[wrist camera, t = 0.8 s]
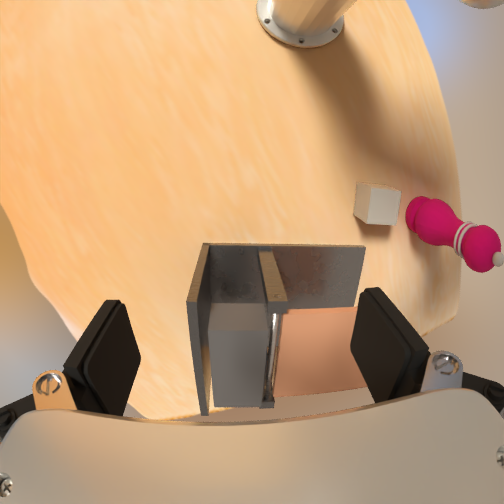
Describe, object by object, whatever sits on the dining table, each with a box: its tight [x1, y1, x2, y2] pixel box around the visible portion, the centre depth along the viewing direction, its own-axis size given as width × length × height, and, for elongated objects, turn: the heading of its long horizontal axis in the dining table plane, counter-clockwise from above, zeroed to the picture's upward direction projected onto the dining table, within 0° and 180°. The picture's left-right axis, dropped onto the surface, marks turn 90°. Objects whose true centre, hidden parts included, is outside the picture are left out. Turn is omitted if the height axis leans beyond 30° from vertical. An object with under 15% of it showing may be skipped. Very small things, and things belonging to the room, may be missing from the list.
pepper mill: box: [406, 196, 504, 273], centre depth 32 cm, size 7×7×20 cm
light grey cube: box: [353, 182, 402, 225], centre depth 38 cm, size 5×5×5 cm
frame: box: [186, 243, 366, 416], centre depth 38 cm, size 19×25×16 cm
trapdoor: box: [208, 303, 367, 407], centre depth 33 cm, size 14×22×5 cm, turn 88°
